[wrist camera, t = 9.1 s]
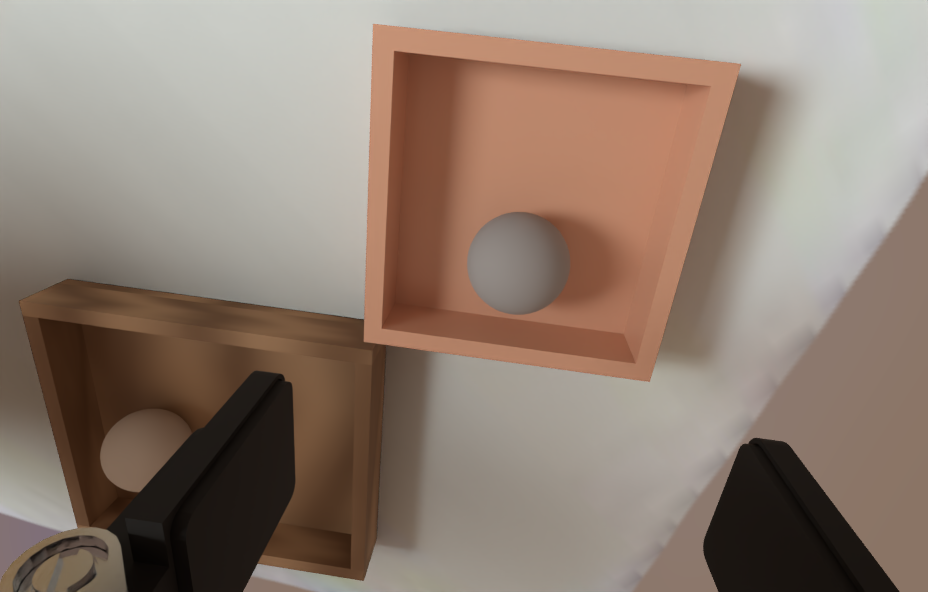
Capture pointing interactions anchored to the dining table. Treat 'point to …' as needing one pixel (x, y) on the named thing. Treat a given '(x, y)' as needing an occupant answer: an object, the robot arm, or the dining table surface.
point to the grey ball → (518, 263)
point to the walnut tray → (217, 401)
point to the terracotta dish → (535, 190)
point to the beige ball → (141, 446)
